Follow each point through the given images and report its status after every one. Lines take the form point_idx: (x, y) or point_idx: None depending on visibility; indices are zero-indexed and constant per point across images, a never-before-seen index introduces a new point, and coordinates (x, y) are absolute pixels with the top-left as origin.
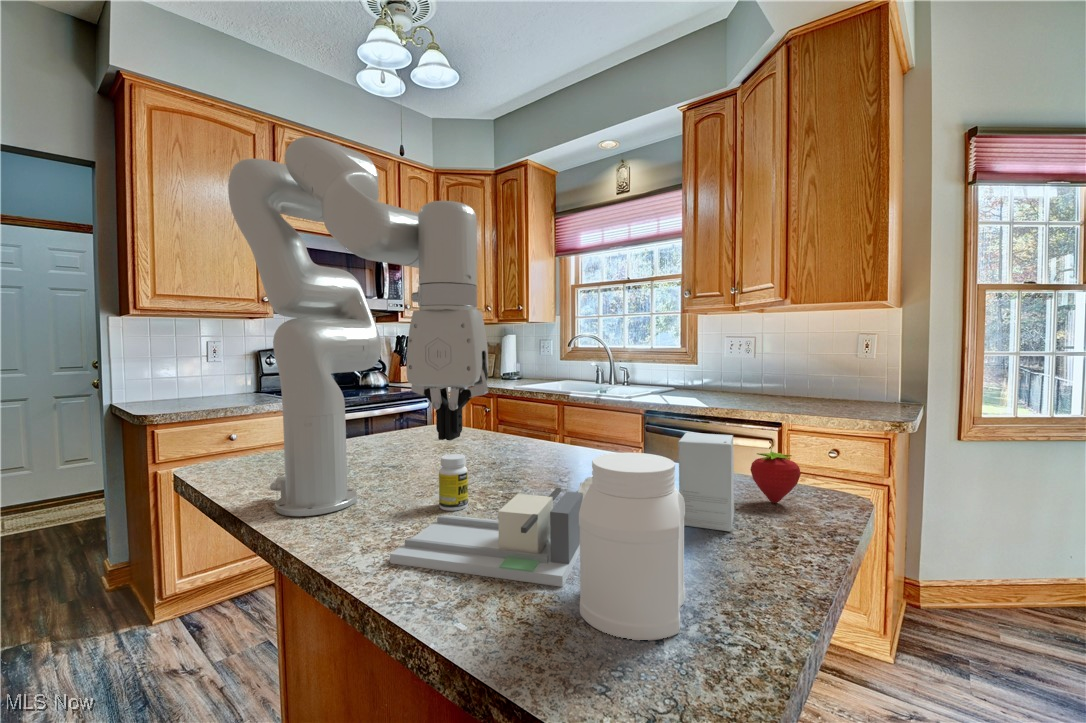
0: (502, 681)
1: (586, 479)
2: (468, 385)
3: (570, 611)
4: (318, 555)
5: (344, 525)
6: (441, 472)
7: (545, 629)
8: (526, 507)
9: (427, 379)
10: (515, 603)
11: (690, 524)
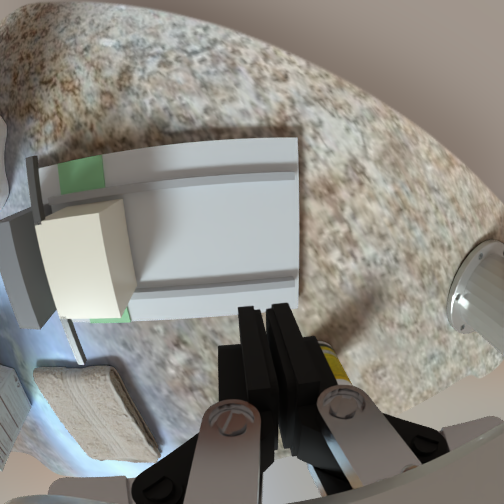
0: (48, 9)
1: (155, 457)
2: (38, 497)
3: (15, 126)
4: (404, 139)
5: (428, 240)
6: (344, 381)
7: (28, 83)
8: (65, 252)
9: (467, 493)
10: (66, 108)
11: (4, 367)
